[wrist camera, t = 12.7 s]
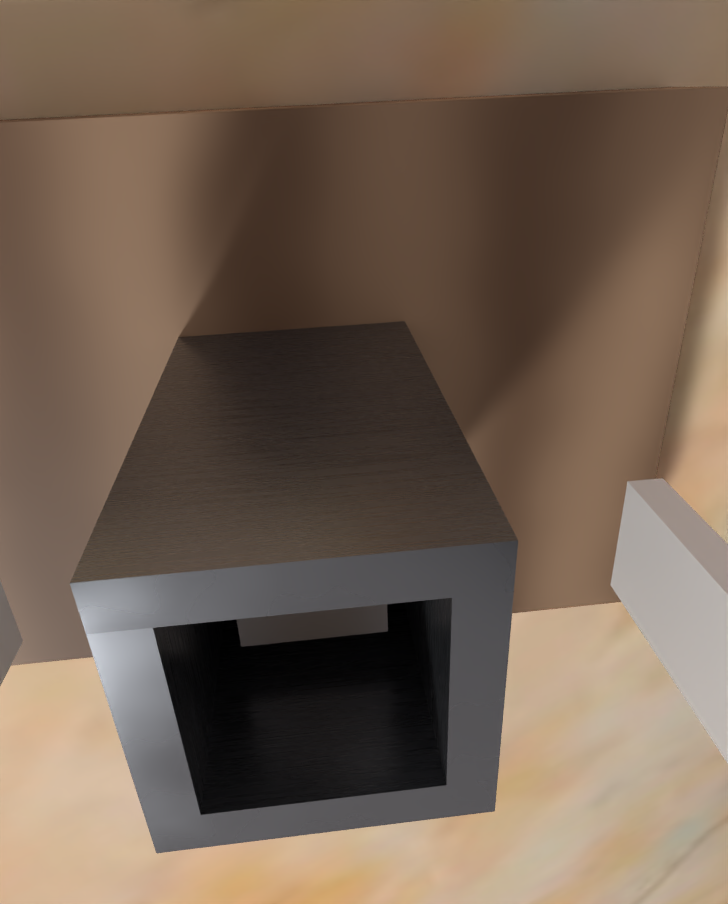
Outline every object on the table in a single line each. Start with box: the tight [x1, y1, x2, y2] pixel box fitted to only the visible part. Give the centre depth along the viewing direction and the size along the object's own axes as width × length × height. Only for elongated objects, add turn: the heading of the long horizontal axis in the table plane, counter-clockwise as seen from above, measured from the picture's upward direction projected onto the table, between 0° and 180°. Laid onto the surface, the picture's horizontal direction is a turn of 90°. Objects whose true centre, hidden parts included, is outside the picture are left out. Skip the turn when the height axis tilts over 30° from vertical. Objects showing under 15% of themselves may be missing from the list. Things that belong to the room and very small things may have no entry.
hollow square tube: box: [70, 321, 518, 853], centre depth 15 cm, size 6×6×10 cm
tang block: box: [0, 87, 728, 665], centre depth 17 cm, size 22×16×10 cm
